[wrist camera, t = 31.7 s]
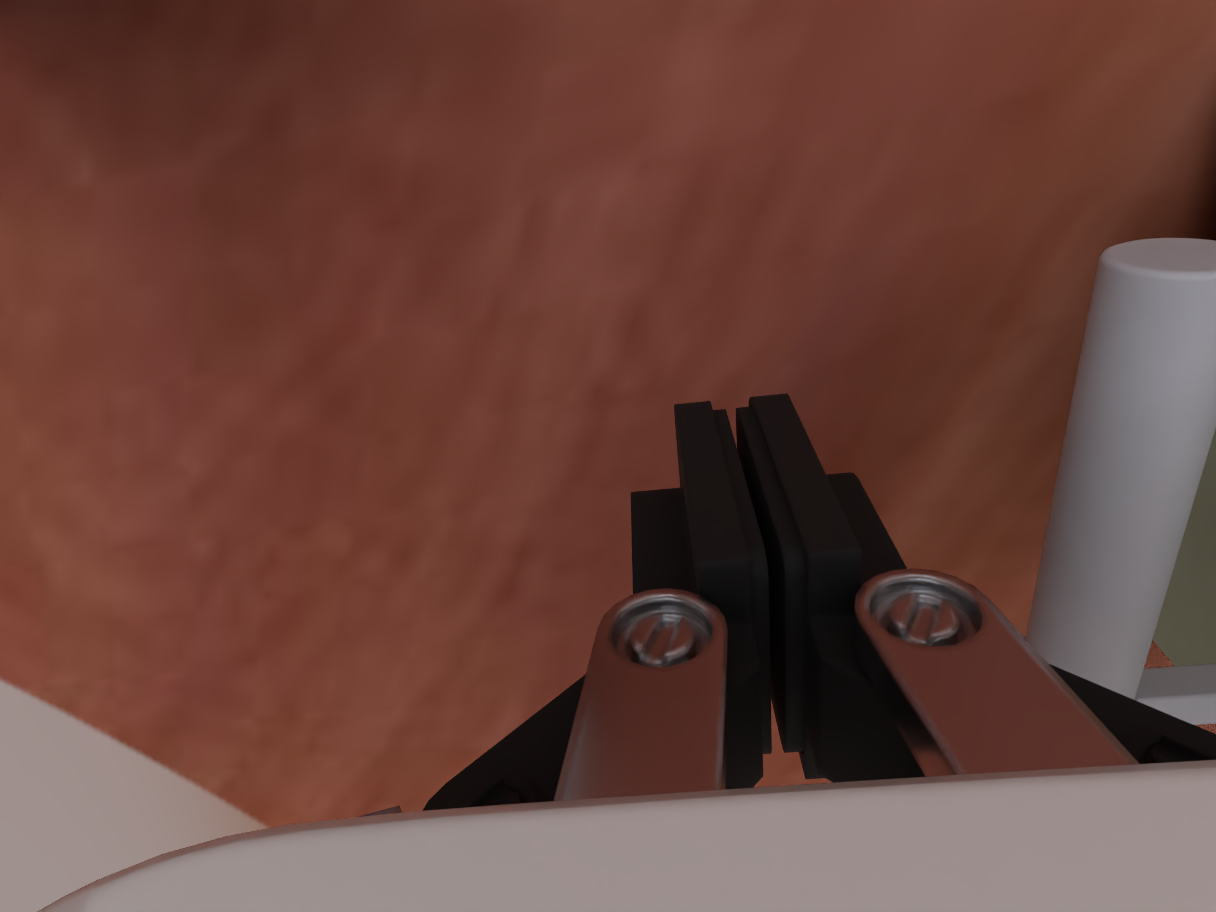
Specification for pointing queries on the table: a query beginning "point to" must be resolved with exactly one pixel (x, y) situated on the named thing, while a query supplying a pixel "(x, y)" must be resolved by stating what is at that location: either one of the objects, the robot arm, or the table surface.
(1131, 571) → the drawer
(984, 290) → the table surface
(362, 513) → the table surface
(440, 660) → the table surface
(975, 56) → the table surface
